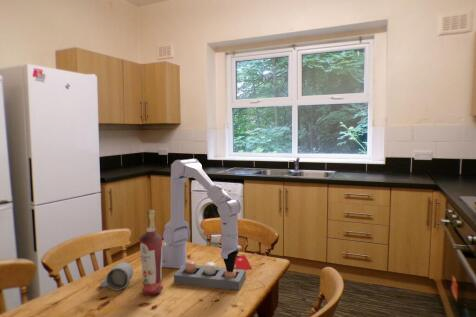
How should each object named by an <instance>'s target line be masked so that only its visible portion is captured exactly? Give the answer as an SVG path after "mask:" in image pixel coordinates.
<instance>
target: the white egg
mask: <svg viewBox="0 0 476 317" xmlns="http://www.w3.org/2000/svg"><path fill="white" fill-rule="evenodd" d="M204 266H205V274H207V275H212V274H215V273H216V267H217V265H216V263H215V262H213V261H210V262H209V261H208V262H205V263H204Z"/></svg>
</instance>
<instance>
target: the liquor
mask: <svg viewBox="0 0 476 317" xmlns="http://www.w3.org/2000/svg"><path fill="white" fill-rule="evenodd" d="M145 213H146V214H145V217H146V230H145V231H146V232H145V233H144V234H142V235H141V236H140V237H139V247H140V249H139V251H140V260H141V271H142V272H141V273H142V274H141V275H142V285H143V286H142V288H141V292H142V293H144V294H145V295H147V296H155V295H158V294H159V293H160V292H161V291H162V290H163V289H164V286H163V284H162V279H163V277H162V268H163V267H162V246H163V235H162V234H160V233H159V232H156V225H155V209H147V210H145Z"/></svg>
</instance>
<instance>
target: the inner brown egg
mask: <svg viewBox="0 0 476 317" xmlns="http://www.w3.org/2000/svg"><path fill="white" fill-rule="evenodd" d="M196 265H197V261H196V260H190V261H187V262H185V271H186V272H187V273H193V272H195V271H196Z"/></svg>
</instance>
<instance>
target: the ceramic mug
mask: <svg viewBox="0 0 476 317" xmlns="http://www.w3.org/2000/svg"><path fill="white" fill-rule="evenodd" d="M133 274H134V269H133V267H132V265H131V264H130V263H128V262H125V261H124V262H123V261H122V262H118V263H117V264H115V266H114V267H112V268H111V269H110V270H109V271H108V272H107V274H106V277H105V278H104V279H102V281H101V282H100V286H101V288H105V287H108V288H109V289H111V290H114V291H121V290H123V289H124V288H126V286H128V284H129V282H130V280H131V279H132V278H133Z"/></svg>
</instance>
